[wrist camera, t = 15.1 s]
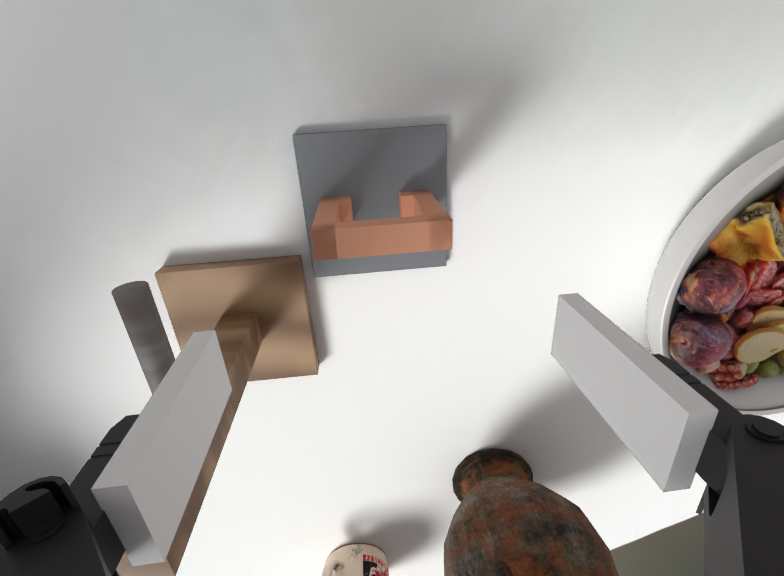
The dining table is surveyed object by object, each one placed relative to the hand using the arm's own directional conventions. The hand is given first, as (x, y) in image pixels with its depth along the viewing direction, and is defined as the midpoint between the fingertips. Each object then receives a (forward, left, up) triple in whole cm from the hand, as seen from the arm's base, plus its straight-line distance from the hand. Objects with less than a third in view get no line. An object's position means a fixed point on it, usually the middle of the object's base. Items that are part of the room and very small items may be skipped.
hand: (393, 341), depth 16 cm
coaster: (0, 0, -21) cm, 21 cm away
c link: (0, 0, -21) cm, 21 cm away
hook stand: (-13, -8, -21) cm, 26 cm away
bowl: (+40, -10, -22) cm, 47 cm away
